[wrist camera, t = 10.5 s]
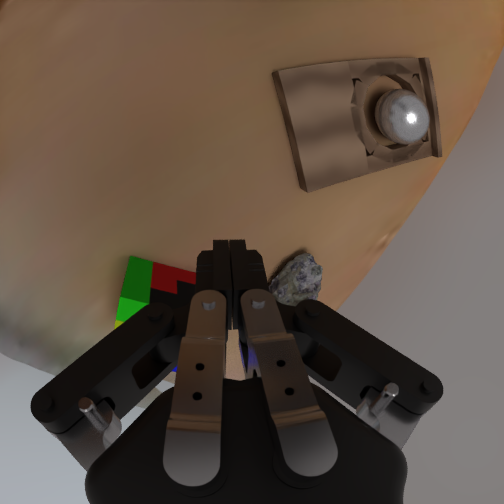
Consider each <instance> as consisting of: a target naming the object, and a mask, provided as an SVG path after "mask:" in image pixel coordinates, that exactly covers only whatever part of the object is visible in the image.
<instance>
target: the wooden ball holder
mask: <svg viewBox="0 0 504 504" xmlns="http://www.w3.org/2000/svg"><path fill="white" fill-rule="evenodd" d="M382 75H386V76H388V77H390V78H391V79H393V80H395V81H396V82H398V83H399V84H400V85H401V87H402V88H403V89H405V90H408V91H411V92H413V93H415V94H416V95H417V96H419V97H420V98H421V99H422V101H423V102H424V103H425V105H426V107H427V109H428V112H429V118H430V122H429V127H428V130H427V132H426V134H425V135H424V136H423V138H421V139H420V140H419V141H417V142H415V143H412V144H399V143H397V144H394V145H390V146H386V147H385V146H383V145H380V144H378V143H377V141H376V140H375V138H374V137H373V136H372V134H371V133H370V131H369V130H368V129H367V126H366V120H365V115H364V109H363V105H364V101H365V97H366V93H367V89H368V87H369V86H370V85H371V84H372V83H373V82H374V81H375V80H376V79H377V78H378V77H379V76H382ZM272 76H273V79H274V83H275V86H276V90H277V94H278V97H279V101H280V105H281V109H282V112H283V116H284V120H285V124H286V128H287V132H288V136H289V140H290V144H291V149H292V153H293V157H294V161H295V166H296V170H297V175H298V179H299V184H300V188H301V189H303V190H304V191H306V192H307V193H309V192H312V191H315V190H318V189H321V188H324V187H327V186H331V185H334V184H337V183H340V182H343V181H347V180H350V179H353V178H356V177H360V176H363V175H366V174H370V173H373V172H376V171H380V170H383V169H387V168H390V167H393V166H397V165H400V164H404V163H407V162H411V161H414V160H418V159H422V158H425V157H429V156H435V157H438V158H439V157H442V146H441V134H440V124H439V115H438V107H437V100H436V93H435V87H434V81H433V76H432V70H431V65H430V61H429V58H383V59H365V60H352V61H341V62H332V63H324V64H317V65H310V66H303V67H297V68H291V69H285V70H280V71H276V72H274V73H272Z"/></svg>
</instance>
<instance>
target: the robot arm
mask: <svg viewBox="0 0 504 504" xmlns="http://www.w3.org/2000/svg"><path fill="white" fill-rule="evenodd" d="M232 322H233V329H238V331H239V348H240V354H241V359H242V364H243V369H244V373H245V379H246V380H242V381H238V380H232V379H226V378H225V377H226V342H227V340H228V330H232ZM176 366H177V371H176V378H175V385H174V387H172V388H170V389H168V390H166V391H164V392H163V393H162V394H160V395H159V396H158V397H157V398H156V399H155V400H154V401H153V402H152V403H151V404H150V405H149V406H148V407H147V408H146V409H145V410H144V411H143V412H142V414H141V415H140V416H139V417H138V418H137V419H136V420H135V421H134V422H133V423H132V424H131V425H130V426H129V427H128V428H127V429H126V430H125V431H124V432H123V433H122V434H121V435H120V433H121V429H122V425H121V421H120V420H121V419H122V417H124V416H125V415H126V414H127V413H128V412H129V411H130V410H131V409H132V408H133V407H134V406H135V405H137V404H138V403H139V402H140V401H141V400H142V399H143V398H144V397H145V396H146V395H147V394H148V393H149V392H150V391H151V390H152V389H153V388H154V387H155V386H157V385H158V384H159V383H160V382H161V381H162V380H163V379H164V378H165V377H166V376H167V375H168V374H169V373H170V372H171V371H172V370H173V369H174V368H175V367H176ZM307 374H308V375H309V376H310V377H312V378H313V379H314V380H316V381H317V382H319V383H320V384H321V385H322V386H324V387H325V388H326V389H328V390H329V391H331V392H332V393H334V394H335V395H336V396H338V397H339V398H340V399H342V400H343V401H345V402H346V403H347V404H349V405H350V406H352V407H353V408H354V409H356V414H357V415H355V414H354V413H353V412H351V411H350V410H349V409H347V408H346V407H345V406H343V405H342V404H341V403H340V402H338V401H337V400H336V399H334V398H333V397H332V396H330V395H329V394H328V393H326V392H325V391H324V390H323V389H321V388H320V387H318V386H317V385H315V384H313V383H311V382H310V381H309V378H308V375H307ZM442 395H443V385H442V383H441V381H440V379H439V378H438V377H437V376H435V375H434V374H432V373H431V372H429V371H428V370H426V369H425V368H423V367H422V366H420V365H418V364H417V363H415V362H413V361H412V360H411V359H409V358H408V357H406V356H404V355H403V354H401V353H400V352H398V351H396V350H395V349H393V348H392V347H390V346H389V345H387V344H386V343H384V342H383V341H381V340H379V339H378V338H376V337H375V336H373V335H372V334H370V333H368V332H367V331H365V330H364V329H362V328H361V327H359V326H358V325H356V324H354V323H353V322H351V321H350V320H348V319H347V318H345V317H344V316H342V315H340V314H339V313H337V312H336V311H334V310H333V309H331V308H330V307H328V306H327V305H325V304H323V303H322V302H320V301H317V300H313V299H306V300H303V301H301V302H299V303H298V304H297V305H296V306H290V305H286V304H282V303H280V302H278V301H276V300H275V298H274V296H273V295H272V294H271V293H270V291H269V286H268V282H267V277H266V273H265V268H264V265H263V259H262V256H261V255H260V254H259V253H258V252H257V250H246V244H245V240H229V242H228V240H213V250H206V251H201V253H200V254H199V255H198V257H197V268H196V283H195V295H194V296H193V298H192V300H191V302H190V303H188V304H187V305H185V306H183V307H180V308H176V309H171V307H170V306H168V305H167V304H164V303H160V302H155V303H150V304H148V305H146V306H144V307H143V308H141V309H140V310H139V311H138V312H136V313H135V314H134V315H132V316H131V317H130V318H129V319H127V320H126V321H125V322H123V323H122V324H121V325H120V326H118V327H117V328H116V329H115V330H113V331H112V332H111V333H109V334H108V335H107V336H106V337H104V338H103V339H102V340H101V341H99V342H98V343H97V344H96V345H94V346H93V347H92V348H91V349H89V350H88V351H87V352H86V353H84V354H83V355H82V356H81V357H79V358H78V359H77V360H76V361H74V362H73V363H72V364H71V365H69V366H68V367H67V368H66V369H64V370H63V371H62V372H61V373H59V374H58V375H57V376H56V377H55V378H53V379H52V380H51V381H50V382H48V383H47V384H46V385H45V386H44V387H42V388H41V389H40V390H39V391H38V392H36V393H35V395H34V396H33V398H32V401H31V412H32V414H33V416H34V417H35V418H36V419H37V420H38V421H39V422H40V423H41V424H42V425H43V426H44V427H45V428H46V429H47V430H48V431H49V432H50V433H51V434H52V435H53V436H55V437H56V438H57V439H58V440H59V441H61V442H62V444H63V445H64V446H65V447H66V448H67V450H68V451H69V452H70V453H71V454H72V455H73V457H74V458H75V459H76V460H77V461H78V462H79V463H80V465H81V466H82V467H83V468H84V469H85V470H86V471H87V475H86V479H85V491H86V496H87V499H88V501H89V503H90V504H403V492H404V486H405V482H406V478H407V462H406V458H405V456H404V454H403V452H402V451H401V450H402V448H403V446H404V445H405V443H406V442H407V440H408V438H409V437H410V435H411V433H412V432H413V430H414V428H415V427H416V425H417V423H418V421H419V420H420V418H421V417H422V416H423V415H424V414H425V413H426V412H427V411H428V410H429V409H431V408H432V407H433V405H435V404H436V403H437V402H438V401H439V399H440V398H441V397H442ZM119 435H120V436H119Z"/></svg>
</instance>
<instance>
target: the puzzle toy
mask: <svg viewBox="0 0 504 504" xmlns="http://www.w3.org/2000/svg"><path fill="white" fill-rule="evenodd" d="M195 283H196V273H195V272H191V271H187V270H183V269H179V268H175V267H171V266H167V265H163V264H160V263H156V262H152V261H148V260H144V259H141V258H137V257H133V256H130V259H129V263H128V266H127V270H126V274H125V278H124V282H123V286H122V291H121V295H120V300H119V305H118V310H117V316H116V321H115V327H114V330H115V329H116V328H117V327H118V326H120V325H121V324H122V323H123V322H125V321H126V320H127V319H129V318H130V317H131V316H132V315H134V314H135V313H136V312H138V311H139V310H140V309H141V308H143V307H144V306H146V305H148V304H150V303H155V302H160V303H164V304H167V305H168V306H170V307H171V309H176V308H180V307H183V306H185V305H187V304H188V303H190V302H191V300H192V298H193V296H194V295H195ZM172 371H174V372H176V371H177V366H176V367H175V368H174V369H173V370H172Z"/></svg>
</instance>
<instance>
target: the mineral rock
mask: <svg viewBox="0 0 504 504" xmlns="http://www.w3.org/2000/svg"><path fill="white" fill-rule="evenodd" d="M321 280H322V267H321V266H320V265H317V263H315V261H314V257H313V256H312V255H311V254H308V253H303V254H300V255H298V256H296V257H295V258H294V260H292V261H289V262H288V263H287V264H286V265H285V267H284V268H283V269H282V271H281V272H280V273H278V275H277V276H276V277H275V278H274V279H273V280H272V283H271V284H270V286H269V291H270V293H271V294H272V295H273V296H274V298H275V300H276V301H278V302H280V303H282V304H286V305H290V306H296V305H297V304H298V303H299V302H301V301H303V300H306V299H313V300H317V298H318V292H319V291H320V289H321V283H320V282H321Z"/></svg>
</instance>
